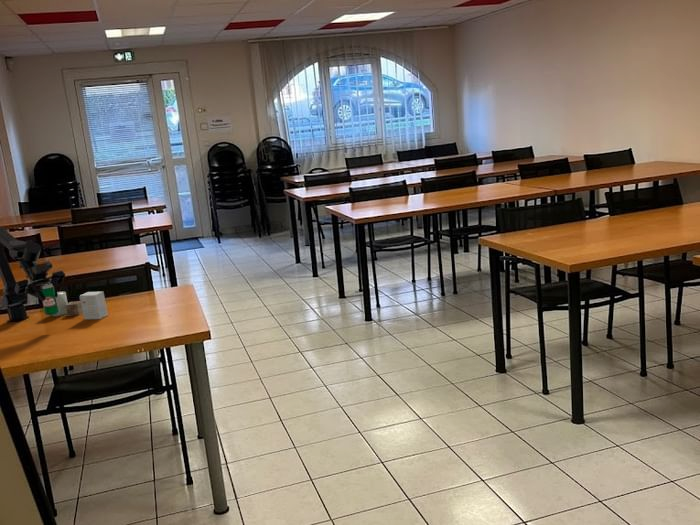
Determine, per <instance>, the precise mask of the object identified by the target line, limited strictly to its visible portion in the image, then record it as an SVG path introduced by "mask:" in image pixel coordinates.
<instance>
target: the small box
mask: <svg viewBox="0 0 700 525" xmlns="http://www.w3.org/2000/svg"><path fill="white" fill-rule="evenodd" d="M79 301H81V306H82V311H83V312H82V315H83V319H84V320H101V319H104V318H105V317H107V316H108V315H109V312H108V307H107V303H106V298H105V293H104V290H103V291H86V292H85V293H83V294H80V295H79Z"/></svg>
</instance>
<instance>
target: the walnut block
mask: <svg viewBox="0 0 700 525" xmlns="http://www.w3.org/2000/svg"><path fill="white" fill-rule="evenodd" d="M65 306H66V311H67V314H66V315H67V316H66V317H71V316H72V317H73V316H74V315H75V316H81V314H83V311H82V306H81V301H80V300H77V301H75V300H74V301H70V302H68V304H66V305H65Z"/></svg>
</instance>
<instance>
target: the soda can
mask: <svg viewBox="0 0 700 525" xmlns="http://www.w3.org/2000/svg"><path fill="white" fill-rule="evenodd" d="M39 286H40V287H39V291H40V292H41V294H42V295H43V297H44V301H42V300H41V301H42V306H43V312H44V314H45V315H46V316H52V315H54V314H57V313H58V312H59V310H58V305H57V300H56V295H55V290H54V286H53V285H52V283H45V284H41V285H39Z"/></svg>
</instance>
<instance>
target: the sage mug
mask: <svg viewBox="0 0 700 525" xmlns="http://www.w3.org/2000/svg"><path fill="white" fill-rule="evenodd" d="M57 294H58V296H57V297H56V300H57V305H58V310H59V312H58V313H57V314H54V315H51V316H52V317H60V316H65V315H67V311H66V306H65V305H66V304H68V303H69V302H68V299H67V292H66V291H57Z"/></svg>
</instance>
